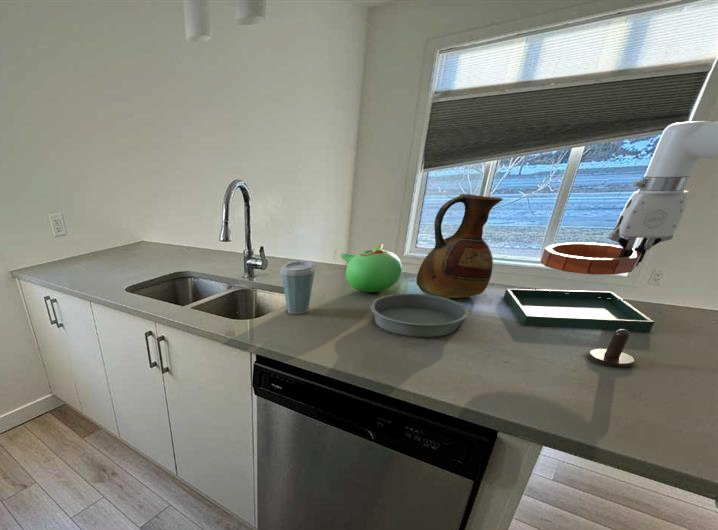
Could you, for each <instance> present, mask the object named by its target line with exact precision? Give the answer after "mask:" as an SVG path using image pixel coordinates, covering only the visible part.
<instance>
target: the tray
mask: <svg viewBox="0 0 718 530" xmlns="http://www.w3.org/2000/svg"><path fill="white" fill-rule="evenodd" d="M549 291H551V292H549ZM565 293H569V294H565ZM598 297H601V298H598ZM503 298H504V299H505V300H506V302H507V304H508V306H509V307H510V308H511V310H512V311H513V312H514V314H515V315H516V316H517V318H518V319H519V321H520V322H521V323H522V325H523V326H530V327H531V326H532V327H548V328H550V327H552V328H568V329H569V328H570V329H585V330H587V329H588V330H604V331H617V330H620V329H625V330H627V331H629V332H644V333H650V332H651V330H652V328H653V326H654V325H655V321H654V320H652V319H651V318H650V317H648V316H647V315H646V314H644V313H643V312H641V311H640V310H638V309H637V308H636V307H634V306H633V305H632V304H630V303H629V302H628V301H626V300H625V301H623V300H624V299H623V298H622V297H620V296H619V295H618V294H616V293H615V292H614V291H608V290H607V291H605V290H604V291H603V290H573V289H572V290H568V289H536V290H535V289H533V288H530V289H529V288H505V292H504V295H503ZM607 298H611V299H607ZM617 299H621V300H617Z"/></svg>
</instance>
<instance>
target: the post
mask: <svg viewBox="0 0 718 530" xmlns="http://www.w3.org/2000/svg"><path fill="white" fill-rule="evenodd" d="M630 336H631V333H630V331H627V330H625V329H620V330H615V332H614V333H613V335H612V337H611V339H610V342H609V344H608V346H607V348H595V349H592V350H590V352H589V354H588V356H587V357H588V358H589V360H591V361H592V362H594V363H596V364H598V365H602V366H606V367H611V368H620V369H623V368H625V369H626V368H630V367H631V366H633V365H634V363H635V358H634V357H633V356H632V355H630V354H628V353H627V352H623V351H624V348H625V347H626V344H627V342H628V340H629V338H630Z"/></svg>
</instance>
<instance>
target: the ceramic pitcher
mask: <svg viewBox="0 0 718 530" xmlns="http://www.w3.org/2000/svg"><path fill="white" fill-rule="evenodd" d="M503 200H504V199H503V198H502V197H497V196H484V195H477V194H471V193H470V194H469V193H462V194H460V195H458V196H455V197H453V198H451V199H450V200H449V199H448V200H447V201H446V202H445V203H444V204H442V205H441V207H440V208H439V210H438V211H437V213H436V216H435V219H434V240H435V242H434V247H433V248H432V250H431V251H429V253H427V255H426V256H425V257H424V259H423V261H422V263H421V265H420V266H419V269H418V271H417V275H416V286H417V287H418V289H419V290H420V291H422V292H423V293H425V294H426V295H433V296H439V297H443V298H447V299H450V300H452V299H459V298H470V297H474V296H477V295H481V294H482V293H483V292H485V290H486V289H487V287H488V285H489V283H490V280H491V278H492V274H493V267H494V266H493V265H494V257H493V253H492V251H491V249H490V246H489V244H487V242H486V241H485V240H484V238H483V234H484V226H485V225H486V223H487V222H488V219H489V215H490V212H491V211H492V209H493V208H494V207H495V206H496V205H498V204H499V203H501V202H502V201H503ZM457 203H462V204H463V205H464V214H463V217H462V220H461V223H460V225H459V227H458V228H457V230H456V231H455V233H453V235H451V236H448V237H446V238H444V237H443V233H442V224H443V221H444V217H445V215H446V213H447V211H448V210H449V209H450V208H451V207H452V206H454V205H455V204H457Z"/></svg>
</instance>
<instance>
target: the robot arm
mask: <svg viewBox="0 0 718 530" xmlns="http://www.w3.org/2000/svg"><path fill="white" fill-rule="evenodd" d="M702 158H703V159H717V160H718V121H710V120H697V121H694V120H693V121H683V122H675V123H671V124H669V125H667V127H665V128H664V130H663V131H662V133H661V135H660V138H659V140H658V142H657V145H656V148H655V150H654V153H653V155H652V157H651V159H650V162H649V164H648V166H647V169H646V172H645V173H644V176H643V177H642V178H641V179H640V180H635V181H634V182H633V184H632V185H633V187H634V188H637V191H634V192H633V193H632V195H631V196H630V197H629V199H628V201H627V202H626V204H625V205H624V207H623V209H622V211H621V213H620V214H619V217H618V219H617V221H616V223H615V226H614V229H613V231H612V232H611V233H610V234H609V235H608V240H610V241H613V242H616V243H618V244H619V246H621V247H622V251H621V253H620V255H619V258H622V257H629V256H631V255H632V253H633V250H632V249H634V250H636V251H639V252H641V253H642V254H641V257H640V259H639V261H638V263H637V265H636V267H638V266H639V264H640V263H642V261H643V259H644V257H645V255H646V253H647V251H649V250H650V249H651V248H652V247H654V246H656V245H658V244H659V243H662V242H667V241H670V240H672V239H673V238H674V234H675V233H676V231H677V230H678V228H679V226H680V222H681V221H682V218H683V216H684V212H685V209H686V207H687V202H688V198H689V193H690V192H689V190H686V188H687V186H688V184H689V182H690V180H691V177H692V175H693V173H694V171H695V169H696V166H697V165H698V162H699V160H700V159H702ZM637 238H640V239H641V240H640V242H639V245H637V247H635V248H633V247H634V245H635V242H636V239H637Z"/></svg>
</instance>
